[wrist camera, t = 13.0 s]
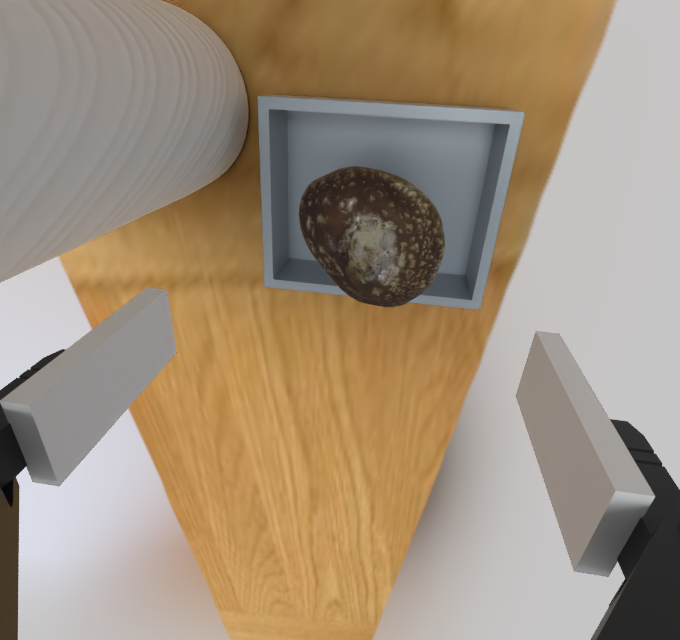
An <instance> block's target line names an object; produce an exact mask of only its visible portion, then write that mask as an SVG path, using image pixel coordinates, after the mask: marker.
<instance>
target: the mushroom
mask: <svg viewBox="0 0 680 640" xmlns="http://www.w3.org/2000/svg"><path fill="white" fill-rule="evenodd" d="M299 221H300V227H301V231H302V234H303V238H304V240H305V242H306V244H307V246H308V248H309V250H310V252H311V253H312V255H313V256H314V257H315V259H316V260H317V261H318V263H319V264H320V265H321V266H322V268H323V269H324V270H325V271H326V273H327V274H328V275H329V276H330V278H331V279H332V280H333V281H334V282H335V283H336V284H337V286H338V287H339V288H340V289H341V290H342V291H344V292H345V293H346V294H347V295H349V296H350V297H352V298H354V299H356V300H357V301H360V302H362V303H367V304H371V305H377V306H383V307H396V306H401V305H403V304H405V303H408V302H409V301H411V300H413V299H414V298H416V297H418V296H419V295H420V294H422V293H423V292H424V291H425V290H427V288H428V287H429V286H430V285H431V283H432V282H433V281H434V279H435V277H436V274H437V272H438V270H439V267H440V265H441V262H442V259H443V255H444V251H445V236H444V232H443V224H442V220H441V217H440V215H439V213H438V211H437V209H436V207H435V206H434V204H433V203H432V202H431V200H430V199H429V198H428V197H427V196H426V195H425V194H424V193H423V192H422V191H420V190H419V189H418V188H417V187H416V186H415V185H413V184H412V183H411V182H409V181H407V180H405V179H403V178H401V177H399V176H396V175H393V174H390V173H387V172H385V171H381V170H377V169H372V168H366V167H359V166H352V167H344V168H340V169H337V170H335V171H333V172H330V173H328V174H326V175H324V176H322V177H320V178H318V179H316V180H314V181H312V182H311V183H310V184H309V185H308V186H307V188H306V189H305V191H304V193H303V195H302V197H301V200H300V206H299Z"/></svg>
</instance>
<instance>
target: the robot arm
mask: <svg viewBox="0 0 680 640" xmlns="http://www.w3.org/2000/svg"><path fill="white" fill-rule="evenodd" d="M176 353H177V352H176V346H175V339H174V333H173V326H172V320H171V313H170V307H169V300H168V294H167V290H164V289H155V288H146V289H145V290H143V291H142V292H141V293H140V294H138V295H137V296H136V297H134V298H133V299H132V300H130V301H129V302H128V303H126V304H125V305H124V306H123V307H121V308H120V309H119V310H117V311H116V312H115V313H113V314H112V315H111V316H110V317H108V318H107V319H106V320H104V321H103V322H102V323H100V324H99V325H98V326H97V327H95V328H94V329H93V330H91V331H90V332H89V333H88V334H86V335H85V336H84V337H82V338H81V339H80V340H78V341H77V342H76V343H74V344H73V345H72V346H70V347H69V348H68V349H67V350H64V349H62V350H60V351H58V352H56V353H53V354H51V355H49V356H47V357H44V358H43V359H42V360H40V361H39V362H38V363H36V364H35V365H34V366H32V367H31V369H30V370H27V371H26V372H24V373H23V374H22V375H20V378H16V379H15V380H13V381H12V382H11V383H9V384H8V385H7V386H5V387H4V388H3V389H1V390H0V640H18V639H17V638H18V637H17V636H18V551H19V547H18V546H19V544H18V543H19V484H18V482H17V479H16V476H17V475H18V474H19V473H20V472H21V471H22V470H23V469H24V468H25V467H27V469H28V471H29V474H30V476H31V479H32V481H33V482H37V483H42V484H48V485H55V486H60V485H61V484H62V483H63V482H64V480H65V479H66V478H67V477H68V476H69V475H70V474H71V472H72V471H73V470H74V469H75V468H76V467H77V466H78V464H79V463H80V462H81V461H82V460H83V459H84V458H85V456H86V455H87V454H88V453H89V452H90V451H91V450H92V448H93V447H94V446H95V445H96V444H97V443H98V441H100V439H101V438H102V437H103V436H104V435H105V434H106V433H107V431H108V430H109V429H110V428H111V427H112V426H113V425H114V423H115V422H116V421H117V420H118V419H119V418H120V416H121V415H122V414H123V413H124V412H125V411H126V410H127V409H128V407H129V406H130V405H131V404H132V403H133V402H134V401H135V399H136V398H137V397H138V396H139V395H140V394H141V393H142V392H143V390H144V389H145V388H146V387H147V386H148V385H149V384H150V382H151V381H152V380H153V379H154V378H155V377H156V376H157V374H158V373H159V372H160V371H161V370H162V369H163V368H164V366H165V365H166V364H167V363H168V362H169V361H170V360H171V358H172V357H173V356H174V355H175V354H176ZM516 398H517V401H518V404H519V406H520V410H521V412H522V416H523V419H524V422H525V425H526V428H527V431H528V434H529V437H530V440H531V443H532V446H533V449H534V452H535V455H536V458H537V461H538V464H539V467H540V470H541V473H542V476H543V479H544V482H545V485H546V488H547V490H548V494H549V497H550V500H551V503H552V506H553V509H554V512H555V515H556V518H557V521H558V524H559V527H560V530H561V533H562V536H563V539H564V542H565V545H566V548H567V551H568V554H569V557H570V560H571V563H572V566H573V569H574V571H575V572H582V573H588V574H594V575H600V576H606V577H608V576H609V575H610V573H611V572H612V570H613V568H614V567H615V565H616V563H617V561H618V563H619V565H620V567H621V569H622V571H623V574H624V576H625V580H624V582H623V583H622V585H621V587H620V588H619V590H618V591H617V593H616V595H615V596H614V598H613V600H612V601H611V603H610V604H609V608H608V610H607V612H606V613H605V615H604V617H603V619H602V621H601V622H600V624H599V626H598V628H597V629H596V631H595V633H594V635H593V637H592V638H591V640H680V490H679V489H678V487H677V485H676V484H675V483H674V481H673V479H672V478H671V476H670V475H669V473H668V472H667V470H666V469H665V467H662V463H661V461H660V460H659V458H658V457H657V455H656V454H654V450H653V449H652V447H651V446H650V444H649V443H648V441H647V440H646V438H645V437H644V436H643V435H642V434H641V433H640V432H639V431H638V430H637V429H635V428H634V427H633V426H632V425H631V424H630V423H628V422H627V421H619V420H612V419H609V417H608V415H607V414H606V412H605V410H604V408H603V407H602V405H601V403H600V402H599V400H598V399H597V397H596V395H595V393H594V392H593V390H592V388H591V386H590V385H589V383H588V382H587V380H586V378H585V376H584V375H583V373H582V371H581V369H580V368H579V366H578V365H577V363H576V361H575V359H574V358H573V356H572V354H571V353H570V351H569V349H568V347H567V346H566V344H565V342H564V341H563V339H562V337H561V336H560V334H557V333H547V332H539V331H536V332H535V335H534V339H533V342H532V345H531V348H530V352H529V355H528V358H527V361H526V365H525V368H524V371H523V374H522V377H521V381H520V384H519V387H518V390H517V394H516Z"/></svg>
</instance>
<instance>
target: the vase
mask: <svg viewBox="0 0 680 640" xmlns="http://www.w3.org/2000/svg"><path fill="white" fill-rule="evenodd" d="M248 112H249V109H248V99H247V93H246V89H245V85H244V81H243V78H242V75H241V73H240V70H239V67H238V65H237V63H236V61H235V60H234V58H233V56H232V54H231V52H230V51H229V49H228V48H227V47H226V45H225V44H224V42H223V41H222V40H221V39H220V38H219V36H218V35H217V34H216V33H215V32H214V31H213V30H212V29H211V28H210V27H208V26H207V25H206V24H205V23H203V22H202V21H201V20H200V19H198V18H197V17H196V16H194V15H192V14H190V13H188V12H187V11H185V10H183V9H181V8H179V7H177V6H175V5H172V4H170V3H167V2H165V1H162V0H0V282H2V281H5V280H7V279H9V278H11V277H13V276H15V275H18V274H20V273H22V272H24V271H26V270H28V269H31V268H33V267H35V266H37V265H39V264H41V263H44V262H46V261H48V260H50V259H52V258H54V257H57V256H59V255H61V254H63V253H65V252H68V251H70V250H72V249H74V248H76V247H78V246H80V245H83V244H85V243H87V242H89V241H91V240H93V239H96V238H98V237H100V236H102V235H104V234H106V233H108V232H111V231H113V230H115V229H117V228H119V227H121V226H123V225H126V224H128V223H130V222H132V221H134V220H136V219H138V218H141V217H143V216H145V215H147V214H149V213H151V212H154V211H156V210H158V209H160V208H162V207H164V206H167V205H169V204H171V203H173V202H175V201H177V200H179V199H181V198H184V197H186V196H188V195H190V194H192V193H194V192H195V191H197V190H199V189H201V188H203V187H204V186H206V185H208V184H210V183H211V182H213V181H214V180H216V179H217V178H219V177H220V176H221V175H222V174H223V173H225V172H226V171H227V170H228V169H229V168H230V166H231V165H232V164H233V163H234V161H235V160H236V158H237V157H238V155H239V153H240V151H241V149H242V146H243V143H244V141H245V138H246V133H247V127H248Z"/></svg>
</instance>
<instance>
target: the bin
mask: <svg viewBox="0 0 680 640" xmlns="http://www.w3.org/2000/svg"><path fill="white" fill-rule="evenodd" d="M257 97H258V123H259V150H260V177H261V204H262V231H263V258H264V285H265V287H270V288H280V289H289V290H299V291H308V292H317V293H327V294H336V295H345V296H349V295H347V294H346V293H345V292H344V291H342V290H341V289H340V288H339V287H338V286H337V284H336V283H335V282H334V281H333V280H332V279H331V278H330V276H329V275H328V274H327V273H326V271H325V270H324V269H323V268H322V266H321V265H320V264H319V263H318V261H317V260H316V259H315V257H314V256H313V255H312V253H311V252H310V250H309V248H308V246H307V244H306V242H305V240H304V238H303V234H302V231H301V227H300V221H299V206H300V200H301V197H302V195H303V193H304V191H305V189H306V188H307V186H308V185H309V184H310V183H311V182H312V181H314V180H316V179H318V178H320V177H322V176H324V175H326V174H328V173H330V172H333V171H335V170H337V169H340V168H344V167H352V166H359V167H366V168H372V169H377V170H381V171H385V172H387V173H390V174H393V175H396V176H399V177H401V178H403V179H405V180H407V181H409V182H411V183H412V184H413V185H415V186H416V187H417V188H418V189H419V190H420V191H422V192H423V193H424V194H425V195H426V196H427V197H428V198H429V199H430V200H431V202H432V203H433V204H434V206H435V207H436V209H437V211H438V213H439V215H440V217H441V220H442V224H443V232H444V236H445V251H444V255H443V259H442V262H441V265H440V267H439V270H438V272H437V274H436V277H435V279H434V281H433V282H432V283H431V285H430V286H429V287H428V288H427V290H425V291H424V292H423V293H422V294H420V295H419V296H418V297H416V298H414V299H413V300H411V301H409V302H411V303H420V304H430V305H439V306H448V307H458V308H467V309H476V310H480V308H481V303H482V299H483V294H484V290H485V286H486V281H487V277H488V272H489V268H490V264H491V259H492V255H493V251H494V246H495V242H496V237H497V233H498V229H499V224H500V220H501V215H502V211H503V207H504V202H505V198H506V193H507V189H508V185H509V180H510V176H511V172H512V167H513V163H514V158H515V154H516V150H517V145H518V141H519V136H520V132H521V128H522V123H523V119H524V114H525V112H522V111H518V110H514V109H509V108H497V107H480V106H463V105H447V104H430V103H413V102H396V101H379V100H363V99H346V98H329V97H312V96H296V95H265V96H257Z"/></svg>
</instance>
